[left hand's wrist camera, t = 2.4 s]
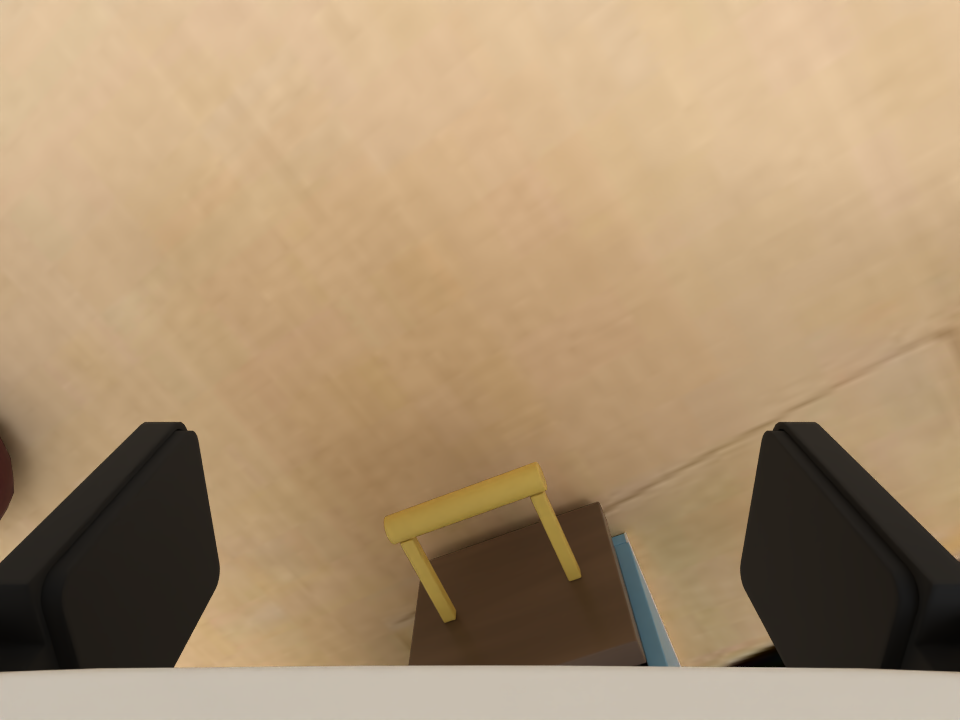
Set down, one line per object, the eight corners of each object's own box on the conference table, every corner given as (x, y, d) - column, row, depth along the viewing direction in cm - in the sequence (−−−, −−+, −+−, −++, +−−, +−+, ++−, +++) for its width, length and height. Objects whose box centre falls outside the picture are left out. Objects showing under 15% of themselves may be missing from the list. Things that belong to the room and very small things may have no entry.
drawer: (371, 471, 34) (332, 604, 25) (556, 402, 32) (583, 517, 24) (537, 772, 41) (552, 954, 33) (693, 727, 40) (752, 905, 31)
